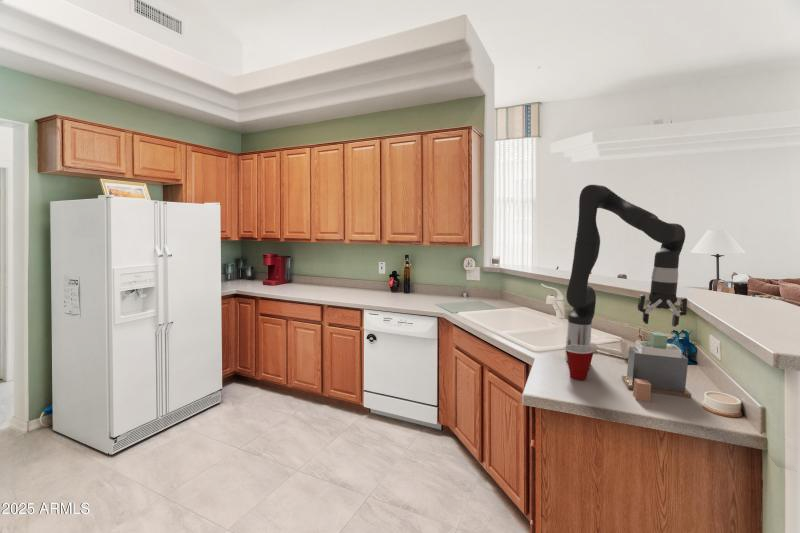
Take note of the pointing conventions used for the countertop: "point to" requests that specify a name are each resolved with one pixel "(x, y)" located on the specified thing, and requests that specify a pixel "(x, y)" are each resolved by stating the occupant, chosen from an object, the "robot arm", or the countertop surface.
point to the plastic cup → (579, 360)
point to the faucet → (623, 352)
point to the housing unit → (658, 368)
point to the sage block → (658, 340)
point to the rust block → (642, 390)
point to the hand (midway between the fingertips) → (659, 324)
